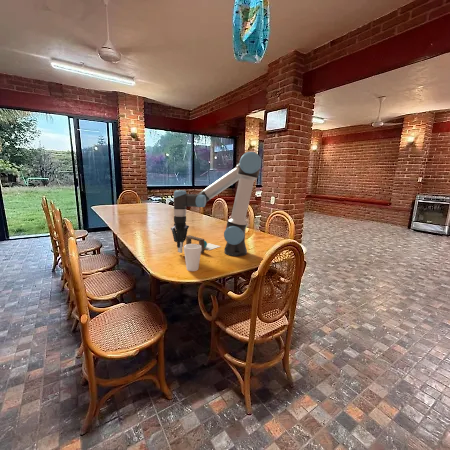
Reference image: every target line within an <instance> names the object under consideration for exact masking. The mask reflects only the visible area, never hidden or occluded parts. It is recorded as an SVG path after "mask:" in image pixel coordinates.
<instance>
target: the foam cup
mask: <svg viewBox="0 0 450 450" xmlns="http://www.w3.org/2000/svg"><path fill="white" fill-rule="evenodd" d="M201 251H202V246H201V245H199V243H198V244H197V243H191V244H187V245H186V244H185V245H184V244H183V253H184V260H185V267H186V271H188V272H197V271H198V270H199V267H200V260H201V254H202V253H201Z"/></svg>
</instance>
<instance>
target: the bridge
mask: <svg viewBox="0 0 450 450" xmlns="http://www.w3.org/2000/svg"><path fill="white" fill-rule="evenodd" d="M192 240H193V241H197V242H198V244H199V245H201V246H202V251H201V254H204V253H205V249H204V241H205V239H204V238H201V237H197V236H194V235H192V234H191V235H190V234H189V235H187V236H186V240H185V245H187V244H192Z"/></svg>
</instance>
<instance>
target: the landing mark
mask: <svg viewBox="0 0 450 450" xmlns="http://www.w3.org/2000/svg"><path fill="white" fill-rule="evenodd" d="M221 247H222V246H221V245H217V244H213V243H210V242H209V243H208V242H207V246H206V247H205V248H204V250H208V251H212V250H215V249H218V248H221Z"/></svg>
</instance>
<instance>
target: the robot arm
mask: <svg viewBox="0 0 450 450" xmlns="http://www.w3.org/2000/svg"><path fill="white" fill-rule="evenodd" d="M261 165H262V158H261V156H260V155H259V154H258V153H257V152H255V151H246V152H245V153H243V155H241V157H240V159H239V162H238V163H237V164H236V166H235V167H234V168H233V169H232V170H229V172H227V173H225V174H224V175H223V176H221V177H220V178H219V179H217V180H216V181H214V182H213V183H212V184H209V186H207V187H206V188H205V189H203V190H201V191H200V192H198V193H196V194H190V193H187V191H186V190H184V189H183V190H181V189H180V190H178V189H177V190H174V192H173V227H170V230H171V232H172V237H173V242H175V243H176V247H177V253H180V254H181V253H183V248H184V243H185V242H186V236H188V235H187V234H188V231H189V227H190V226H189V225H187V223H186V222H187V216H186V215H187V207H192V208H205V207H206V204H207V203H208V202H209V201H211V199H213V198H214V197H216V196H218V195H219V194H220V193H222V192H224V191H225V190H227V188H229V187H230V186H232V185H234V184H235V183H236V182H238V183H237V187H236V188H237V189H236V193H235V197H234V203H233V207H232V209H231V211H232V212H231V215H230V218H228V219H227V220H226V221H227V222H226V227H225V229H224V232H223V237H224V238H223V239H224V240H225V241H226V243H225V247H224V251H223V253H224V254H225V255H227V256H232V257H243V256H246V255H247V253H248V249H247V246H246V242H245V241H246V228H247V221H246V218H247V213H248V210H249V205H250V200H251V196H252V191H253V187H254V184H255V181H256V180H257V179H258V178H259V174H260V170H261V169H260V168H261V167H262V166H261Z"/></svg>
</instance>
